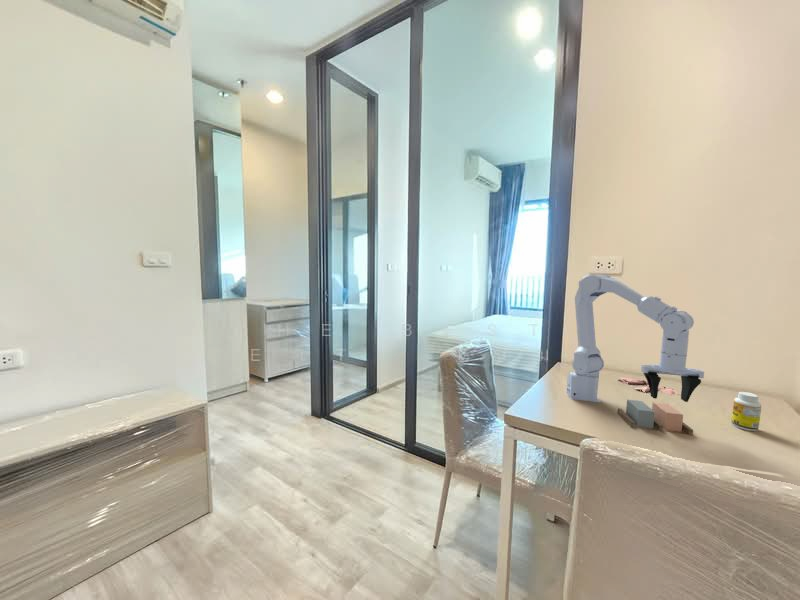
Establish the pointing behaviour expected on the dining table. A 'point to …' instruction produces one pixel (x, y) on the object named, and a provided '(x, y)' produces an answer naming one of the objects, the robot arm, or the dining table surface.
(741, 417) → the supplement bottle
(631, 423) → the comb rack
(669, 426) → the plug block
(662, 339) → the robot arm
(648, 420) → the slate block
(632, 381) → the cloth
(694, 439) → the dining table surface
